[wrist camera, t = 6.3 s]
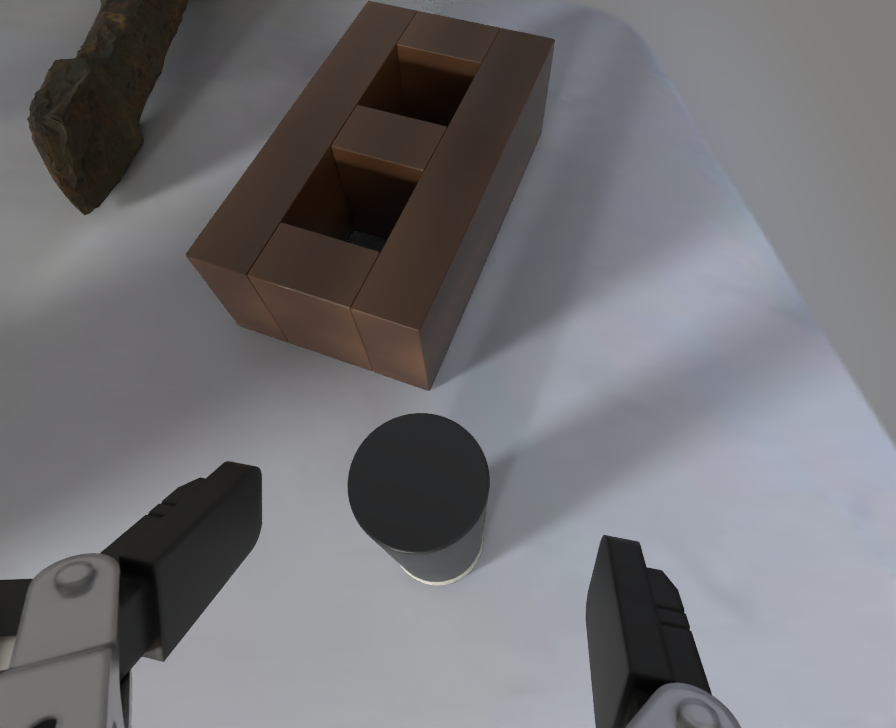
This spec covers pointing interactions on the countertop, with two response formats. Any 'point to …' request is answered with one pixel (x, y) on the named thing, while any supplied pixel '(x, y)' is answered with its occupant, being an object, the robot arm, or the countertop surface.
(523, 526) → the countertop surface
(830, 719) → the countertop surface
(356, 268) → the holder
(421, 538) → the dark grey cylinder
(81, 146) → the hand tool
